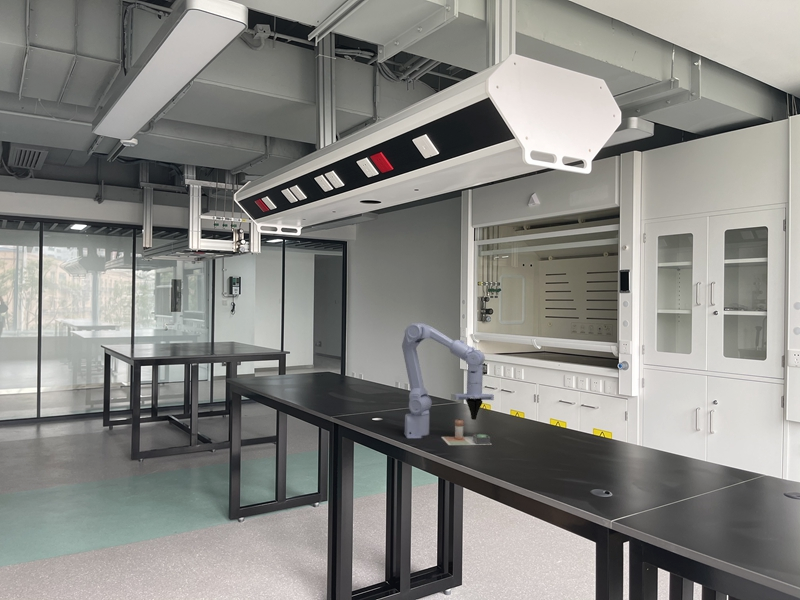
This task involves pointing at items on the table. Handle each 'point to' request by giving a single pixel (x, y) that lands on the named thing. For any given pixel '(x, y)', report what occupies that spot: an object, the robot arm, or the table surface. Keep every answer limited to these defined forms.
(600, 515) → the table surface
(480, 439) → the button housing
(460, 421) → the orange and grey cylinder
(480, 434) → the button
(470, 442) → the board
